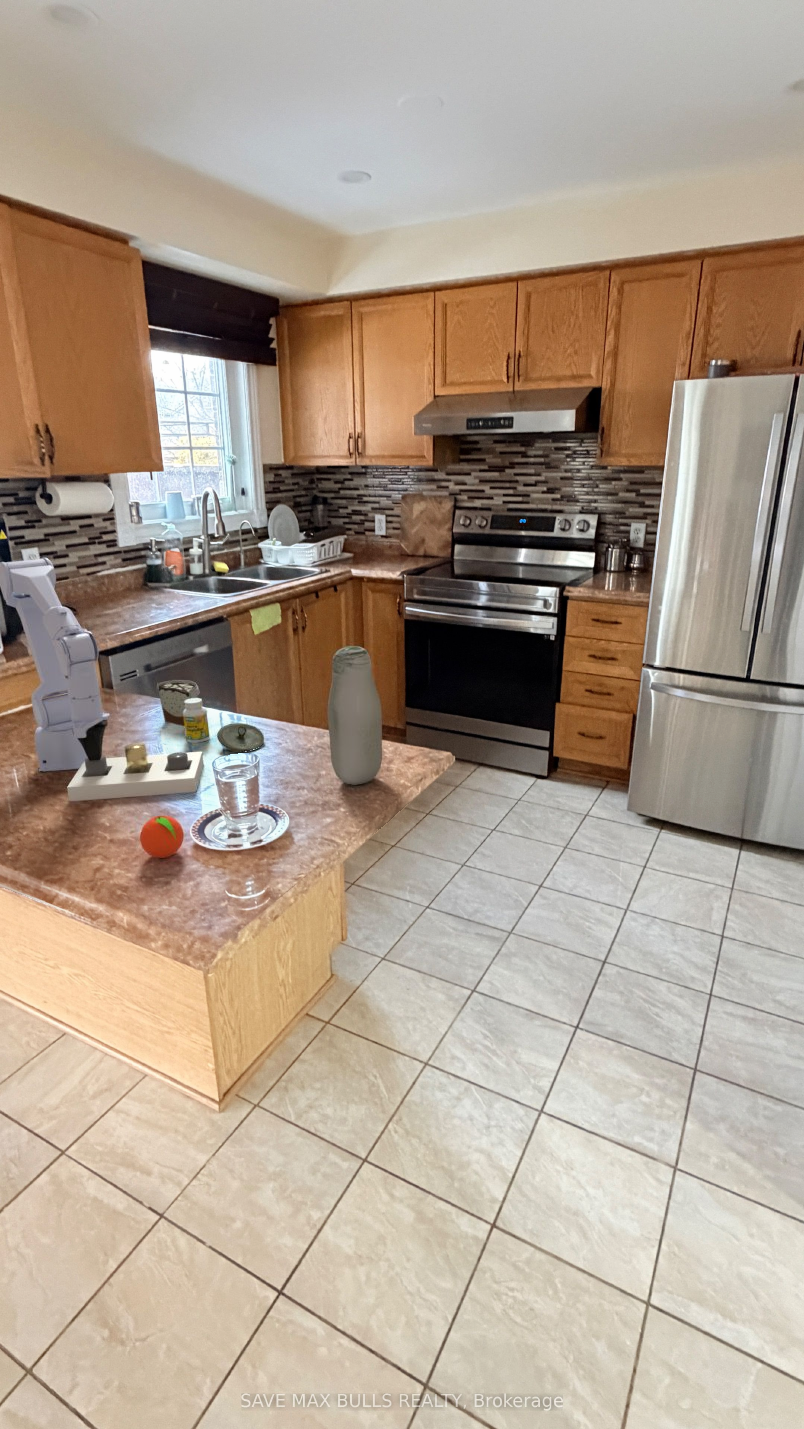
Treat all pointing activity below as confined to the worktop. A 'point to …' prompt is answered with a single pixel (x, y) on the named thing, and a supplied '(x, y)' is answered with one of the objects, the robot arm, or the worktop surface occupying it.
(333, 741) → the grey bottle
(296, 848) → the worktop surface
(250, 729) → the lid
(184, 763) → the knob
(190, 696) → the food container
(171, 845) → the clementine
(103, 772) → the knob
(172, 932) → the worktop surface
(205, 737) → the supplement bottle
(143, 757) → the knob middle
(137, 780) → the housing
